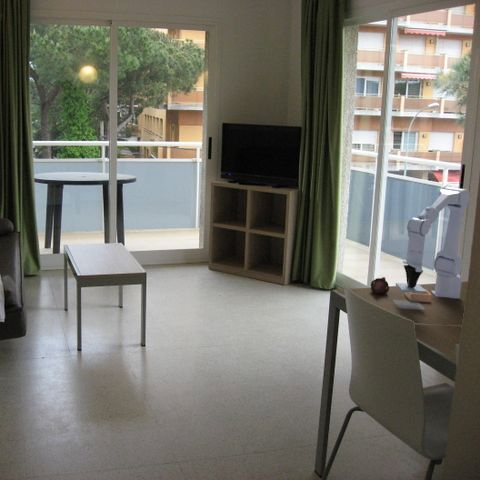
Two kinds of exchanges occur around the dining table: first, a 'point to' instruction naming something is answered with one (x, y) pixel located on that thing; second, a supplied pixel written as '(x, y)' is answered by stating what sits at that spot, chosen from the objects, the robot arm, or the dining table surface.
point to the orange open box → (419, 296)
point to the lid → (410, 288)
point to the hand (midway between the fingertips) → (411, 285)
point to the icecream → (379, 286)
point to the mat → (408, 304)
